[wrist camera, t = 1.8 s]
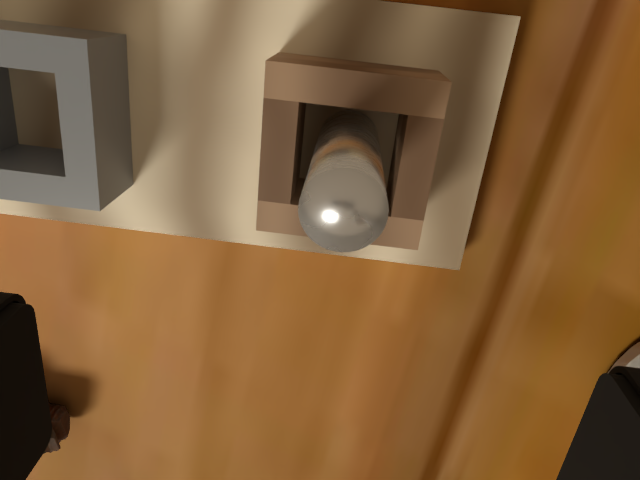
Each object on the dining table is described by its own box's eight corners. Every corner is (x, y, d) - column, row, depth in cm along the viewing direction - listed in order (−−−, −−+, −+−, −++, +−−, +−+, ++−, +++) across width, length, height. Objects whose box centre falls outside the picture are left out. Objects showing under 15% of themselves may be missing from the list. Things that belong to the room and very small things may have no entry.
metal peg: (382, 113, 26) (395, 173, 17) (373, 171, 27) (381, 257, 18) (322, 106, 26) (302, 162, 17) (316, 164, 27) (294, 246, 18)
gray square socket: (126, 34, 25) (86, 39, 21) (133, 184, 28) (100, 211, 25) (-29, 16, 25) (-95, 18, 22) (-5, 167, 28) (-59, 191, 25)
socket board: (512, 15, 25) (550, 18, 20) (454, 258, 30) (473, 308, 25) (-62, -50, 26) (-165, -63, 21) (-18, 199, 31) (-91, 237, 26)
